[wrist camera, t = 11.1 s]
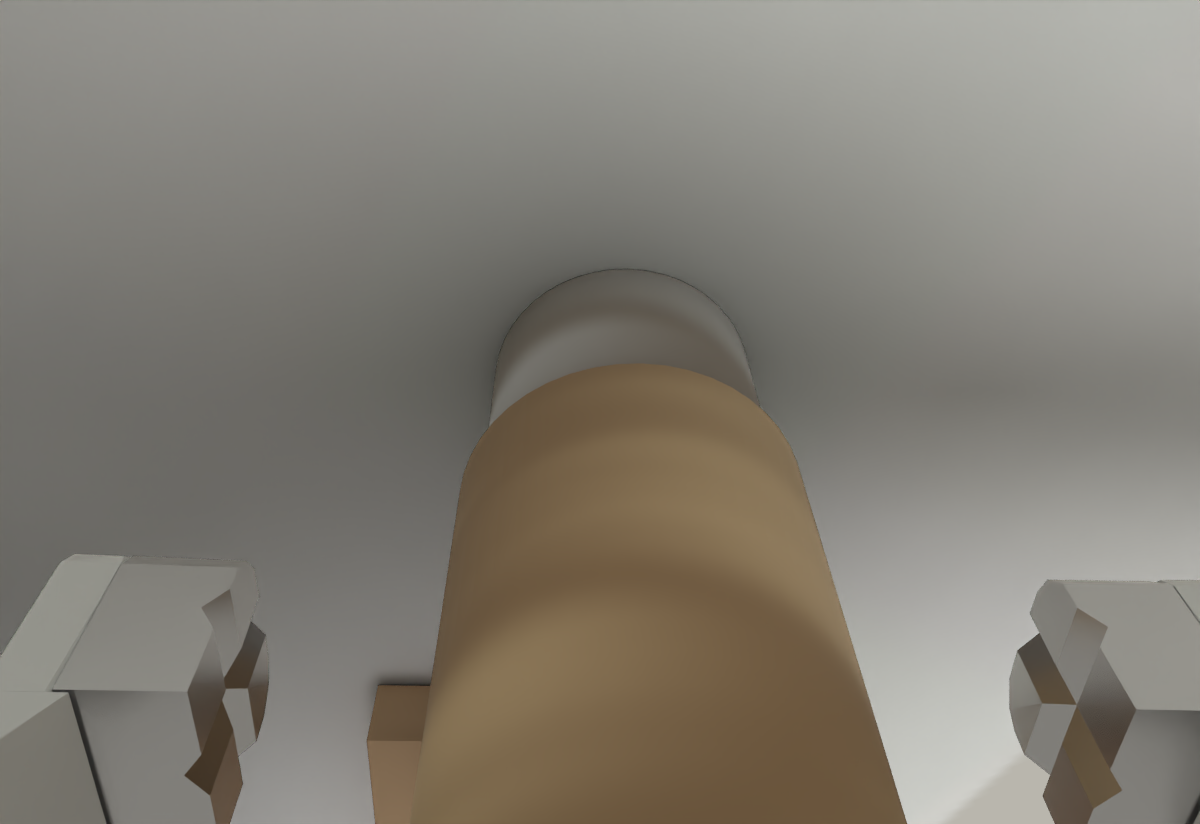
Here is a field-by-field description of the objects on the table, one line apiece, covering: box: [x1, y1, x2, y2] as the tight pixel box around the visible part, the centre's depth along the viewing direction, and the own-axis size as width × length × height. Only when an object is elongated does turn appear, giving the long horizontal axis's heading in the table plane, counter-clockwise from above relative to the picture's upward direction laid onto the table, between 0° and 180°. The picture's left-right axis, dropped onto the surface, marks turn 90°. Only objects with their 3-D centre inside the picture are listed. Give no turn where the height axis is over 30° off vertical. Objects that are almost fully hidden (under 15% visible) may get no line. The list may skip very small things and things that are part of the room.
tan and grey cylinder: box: [409, 269, 907, 824], centre depth 9 cm, size 3×3×9 cm
